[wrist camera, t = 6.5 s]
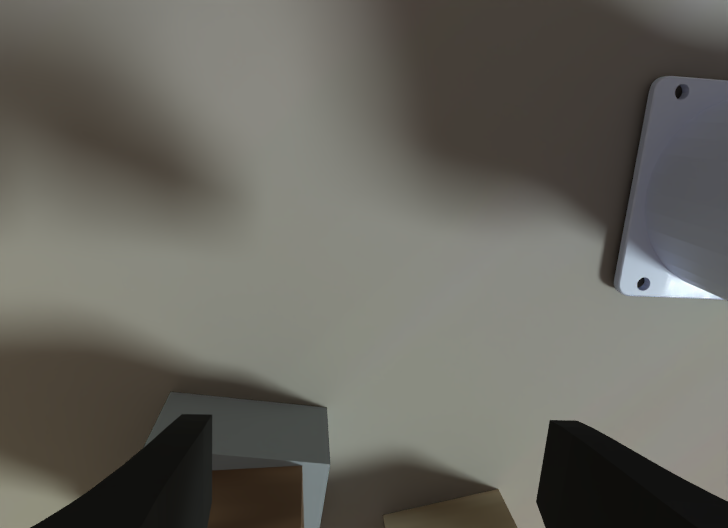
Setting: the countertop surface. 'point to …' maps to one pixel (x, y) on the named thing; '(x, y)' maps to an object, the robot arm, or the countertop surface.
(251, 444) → the grey base block
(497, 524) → the maple cube
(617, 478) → the robot arm
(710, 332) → the countertop surface
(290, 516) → the walnut cube
